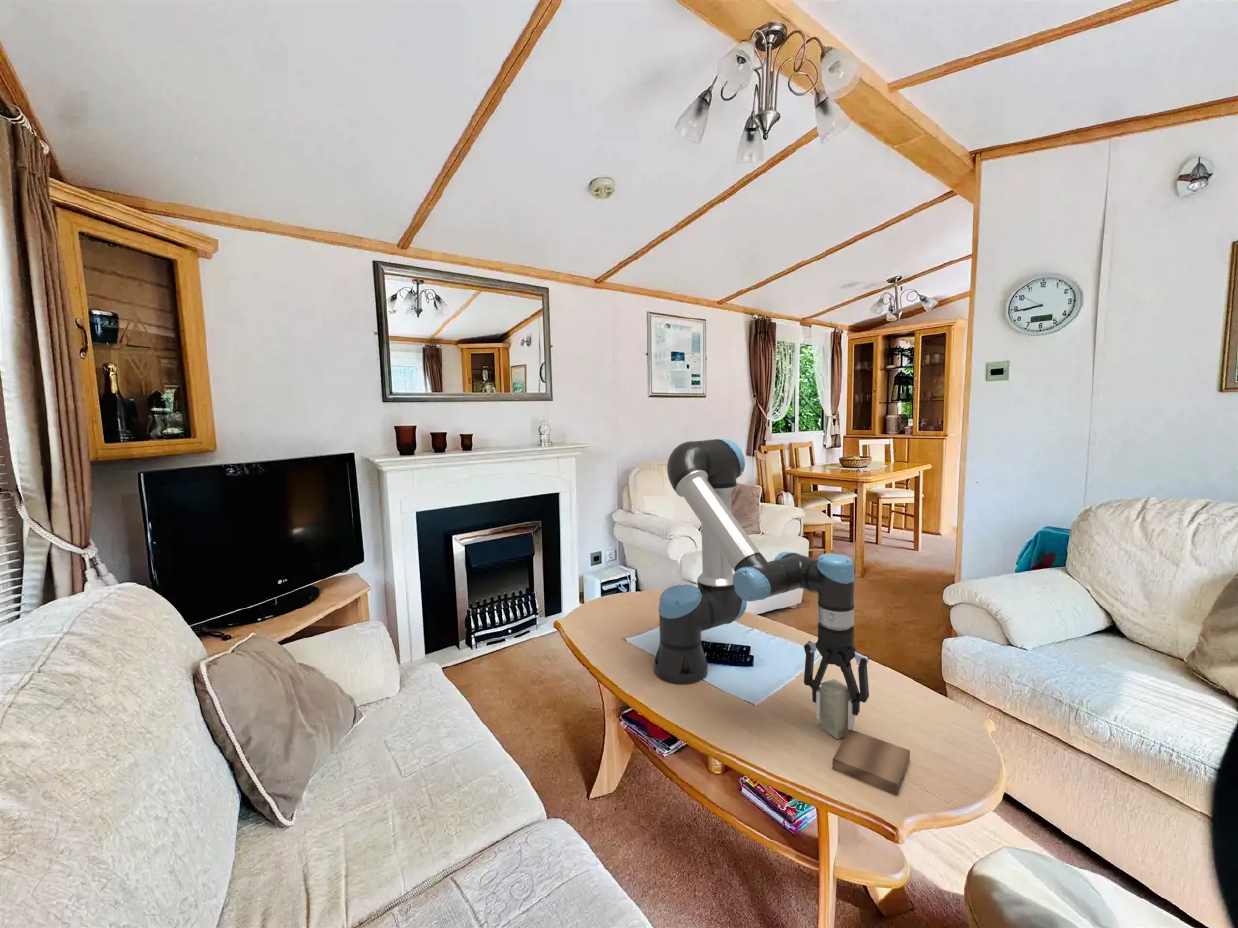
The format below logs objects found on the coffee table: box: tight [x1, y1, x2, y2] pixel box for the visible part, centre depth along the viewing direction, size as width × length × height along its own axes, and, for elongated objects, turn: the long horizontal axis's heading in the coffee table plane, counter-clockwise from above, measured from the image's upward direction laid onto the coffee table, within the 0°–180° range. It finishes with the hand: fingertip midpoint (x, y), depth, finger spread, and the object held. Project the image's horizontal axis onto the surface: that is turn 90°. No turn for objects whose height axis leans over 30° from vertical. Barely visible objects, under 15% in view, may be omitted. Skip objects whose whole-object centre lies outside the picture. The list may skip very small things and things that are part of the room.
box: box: [820, 678, 851, 740], centre depth 118 cm, size 5×4×11 cm
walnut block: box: [832, 729, 911, 797], centre depth 108 cm, size 12×12×3 cm
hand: (835, 721), depth 118 cm, fingers open, 6 cm apart
